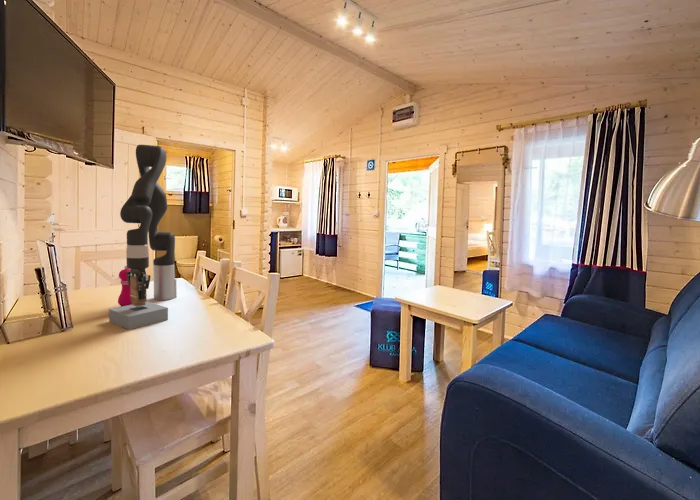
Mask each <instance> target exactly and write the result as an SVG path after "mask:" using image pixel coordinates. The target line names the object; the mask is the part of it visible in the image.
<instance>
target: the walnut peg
mask: <svg viewBox="0 0 700 500" xmlns="http://www.w3.org/2000/svg"><path fill="white" fill-rule="evenodd" d="M139 282H142V281H139ZM140 286H141V285H140ZM130 288H131V295H130V296H131V302H132V305H134V306H136V307H137V306H142V305H145V302H148V300H147V296H148V295H147V289H146V290H145V299H142V300H139V298H138V297H139V296H138V291H139V290H138V285H137V281H136V277H134V276H130Z"/></svg>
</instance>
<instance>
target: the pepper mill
mask: <svg viewBox="0 0 700 500" xmlns="http://www.w3.org/2000/svg"><path fill="white" fill-rule="evenodd" d="M130 270H131V269H128V268H127V265H125V266H124V269H121V270H120V271H119V272H118V278H119V279H120V281H119V282H120V283H119V284H120V285H121V291H120V293H119V295H118V298H117V304H118V305H119V307H122V306H127V305H132V302H131V296H130V295H131V288H130V286H129V285H128V280H127V274H126V272H129V271H130Z"/></svg>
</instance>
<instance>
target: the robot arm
mask: <svg viewBox="0 0 700 500" xmlns="http://www.w3.org/2000/svg"><path fill="white" fill-rule="evenodd" d="M135 158H136V164H137V167H138V168H137V169H138V171H139V176H140V177H139V178H137V180H136V181H135V183H134V185H133V187H132V188H133V189H132V192H131V195H130V196H129V198H128V199H127V200H126V201H125V203H124V204H123V205H122V207H121V208H120V213H119V215H120V219H121V220H122V222H124V223H127V224H140V225H139V227H138V228H134V229H128V230H127V232H126V251H125V252H126V253H125V254H126V257H125V258H126V266H127V268H128V269H131V270H130V271H129V272H126V274H127V280H128V285H129V286H130V276H134V277H136V281H137V285H138V290H139V291H138V296H139V297H138V298H139V300H142V299H145V290H146V291H147V290H148V289H149V288H150V281H151V275H150V274H147V271H146V269H148V268H149V267H150V260H149V259H150V255H149V254H150V253H149V247H150V249H151V250H152V251H156V252H157V251H161V252H165V251H166V253H165V254H164V255H162V256H158V257H156V258H154V259H153V260H152V261H153V262H152V263H153V266H152V267H153V299H154V300H157V301H168V300H174V299H175V298H177V295H178V293H177V278H175V276H176V275H175V248H176V237H175V234H174V233H173V232H167V231H158V226H159V223H160V221H161V220H162V218H163V217H164V216H165V214H166V212H167V210H168V201H167V198H168V197H167V193H166V191H164V188H162V187H161V185H160V184H159V183H158V182H159V181H158V180H160V178H161V177H160V176H161V175H162V173H163V171H164V168H165V166H166V163H167V152H166V149H165V148H164V147H163V146H159V145H153V144H152V145H150V144H138V145H137V146H136V147H135ZM139 281H142V282H139ZM140 285H141V286H140Z"/></svg>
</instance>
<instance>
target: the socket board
mask: <svg viewBox="0 0 700 500" xmlns="http://www.w3.org/2000/svg"><path fill="white" fill-rule="evenodd" d="M108 316H109V318H108V319H109V323H113V324H115V325H117V326H120V327H122V328H125V329H127V330H132V329H136V328H141V327H145V326H148V325H152V324H157V323H160V322H164V321H168V320H169V308H168V307H166V306H163V305H160V304H157V303H153V302H151V301H145V305H142V306H137V307H136V306H134V305H127V306H122V307H120V306H118V307H113V308H109V309H108Z"/></svg>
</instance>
